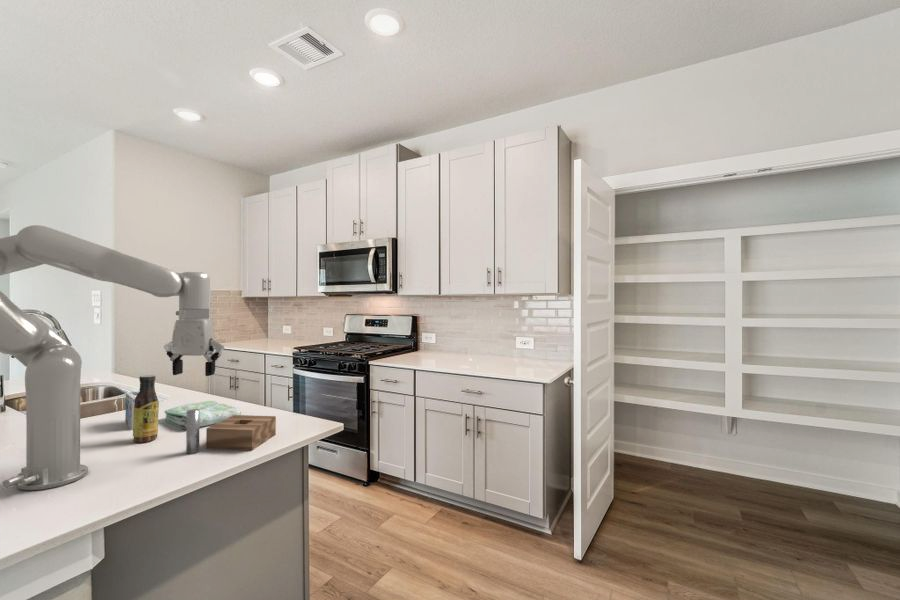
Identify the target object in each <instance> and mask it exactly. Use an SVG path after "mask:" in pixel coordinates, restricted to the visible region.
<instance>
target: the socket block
mask: <svg viewBox="0 0 900 600" xmlns="http://www.w3.org/2000/svg"><path fill="white" fill-rule="evenodd" d="M276 421H277V417H276V416H275V415H252V414H250V415H248V414H247V415H246V414H242V415H233V416H231V417H229V418H227V419H225V420H223V421H221V422H219V423H217V424H213V425H209V427H208V426H207V427H206V433H205V434H206V435H205V436H206V437H205V438H206V442H205V443H206V444H205V445H206V450H208V449H209V450H230V451H234V450H235V451H250V452H251V451H254V450H255V449H257V448H258V447H259V446H261V445H263V444H264V443H265V442H267V441H268V440H270V439H272V438H273V437H275V436H276V435H277V434H276V433H277V431H276V430H277V429H276V428H277V422H276Z"/></svg>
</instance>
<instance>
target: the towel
mask: <svg viewBox="0 0 900 600" xmlns="http://www.w3.org/2000/svg"><path fill="white" fill-rule="evenodd" d="M191 409H199V410H200V425H199V428H202V427H208V426H212V425H214V424H217V423H219V422H221V421H223V420H225V419H227V418H229V417H231V416H233V415H243V413H242V411H241V410H240V409H237V408H236V407H235V406H232V405H229V404H228V405H227V404H225V403H222V402H218V401H213V400H205V401H200V402H194V403H188V404H182V405H179V406H175V407H171V408H169V409H166V410H164V414H165V418H166V419H165V421H166V422H167V423H169V424H171V425H174V426H175V427H178V428H180V429H182V430H183V429H184V430H186V415H187V411H188V410H191Z"/></svg>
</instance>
